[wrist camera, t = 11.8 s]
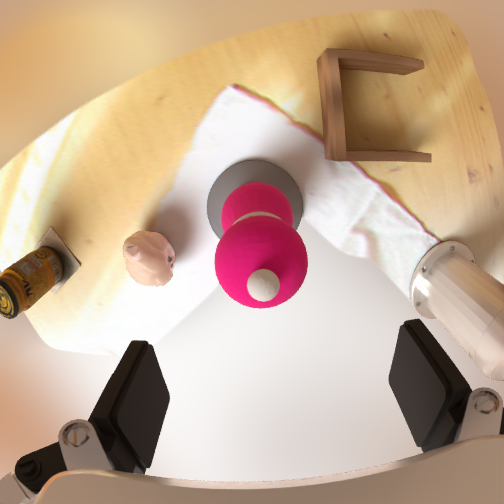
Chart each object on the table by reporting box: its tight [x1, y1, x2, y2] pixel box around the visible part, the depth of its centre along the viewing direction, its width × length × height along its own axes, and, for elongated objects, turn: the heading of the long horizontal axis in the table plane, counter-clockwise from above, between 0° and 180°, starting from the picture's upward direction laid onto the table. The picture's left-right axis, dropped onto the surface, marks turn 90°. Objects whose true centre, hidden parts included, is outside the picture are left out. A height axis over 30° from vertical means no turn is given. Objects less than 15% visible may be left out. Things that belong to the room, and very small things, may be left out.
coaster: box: [207, 160, 303, 239], centre depth 35 cm, size 11×11×1 cm
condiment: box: [0, 227, 80, 319], centre depth 32 cm, size 7×8×12 cm
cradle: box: [317, 48, 431, 162], centre depth 28 cm, size 12×12×5 cm
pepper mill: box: [215, 182, 308, 308], centre depth 25 cm, size 7×7×20 cm
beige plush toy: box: [123, 230, 175, 286], centre depth 33 cm, size 7×6×8 cm
